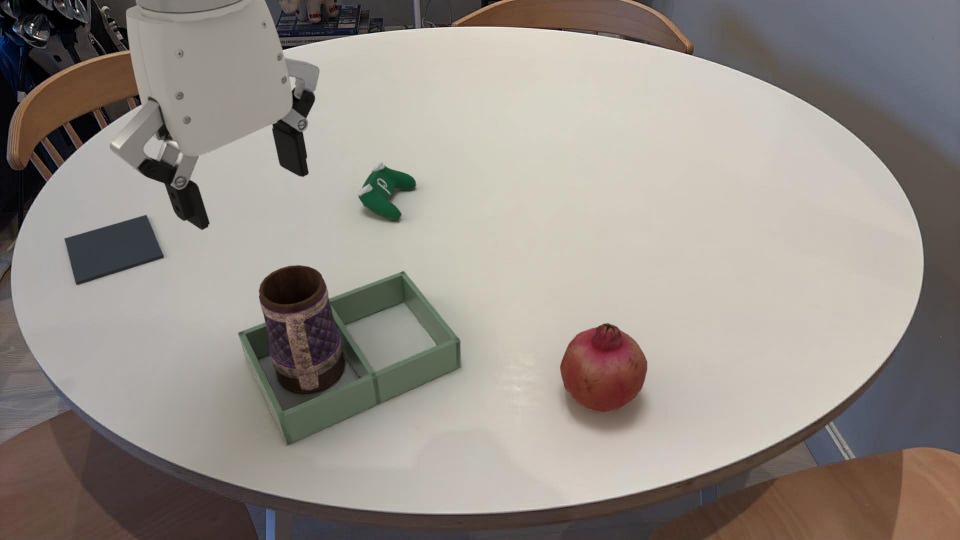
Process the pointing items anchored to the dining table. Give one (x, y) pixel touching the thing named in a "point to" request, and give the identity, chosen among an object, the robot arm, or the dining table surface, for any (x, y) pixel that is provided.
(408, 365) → the divided box
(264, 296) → the mug
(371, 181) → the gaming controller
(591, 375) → the fruit
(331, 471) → the dining table surface
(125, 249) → the mat
